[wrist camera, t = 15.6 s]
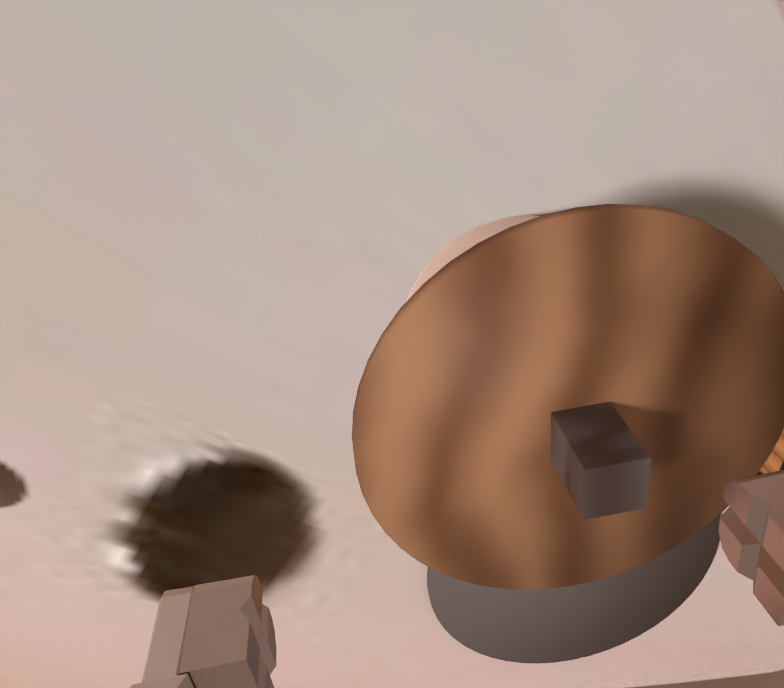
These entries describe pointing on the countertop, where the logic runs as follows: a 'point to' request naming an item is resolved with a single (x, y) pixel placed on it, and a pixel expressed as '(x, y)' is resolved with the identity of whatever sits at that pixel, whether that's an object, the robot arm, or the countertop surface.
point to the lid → (571, 397)
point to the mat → (572, 607)
